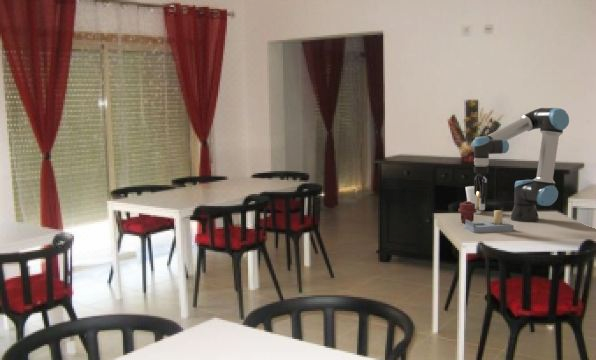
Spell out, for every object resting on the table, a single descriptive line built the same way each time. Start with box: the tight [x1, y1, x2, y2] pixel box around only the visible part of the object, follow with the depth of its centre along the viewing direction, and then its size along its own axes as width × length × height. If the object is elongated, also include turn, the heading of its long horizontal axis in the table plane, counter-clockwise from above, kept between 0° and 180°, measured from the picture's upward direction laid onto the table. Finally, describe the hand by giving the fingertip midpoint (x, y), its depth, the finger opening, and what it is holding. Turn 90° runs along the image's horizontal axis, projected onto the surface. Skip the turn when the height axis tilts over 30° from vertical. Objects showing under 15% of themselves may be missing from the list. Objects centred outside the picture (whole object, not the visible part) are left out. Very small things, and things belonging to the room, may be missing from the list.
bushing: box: [476, 191, 485, 212], centre depth 336 cm, size 4×4×10 cm
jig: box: [464, 209, 514, 234], centre depth 338 cm, size 22×12×10 cm, turn 96°
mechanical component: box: [457, 200, 476, 224], centre depth 356 cm, size 12×10×10 cm
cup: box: [465, 185, 482, 215], centre depth 386 cm, size 12×12×16 cm
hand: (480, 208), depth 337 cm, fingers closed on bushing, 4 cm apart
